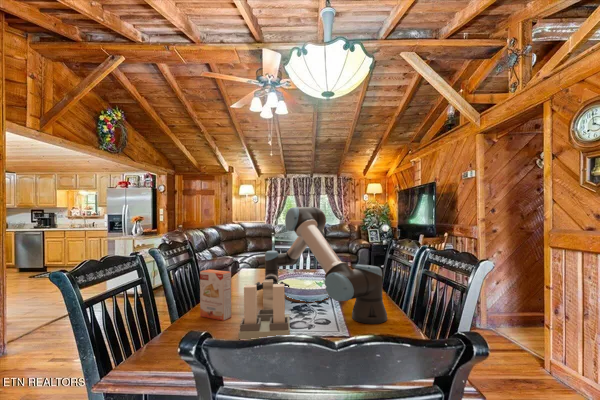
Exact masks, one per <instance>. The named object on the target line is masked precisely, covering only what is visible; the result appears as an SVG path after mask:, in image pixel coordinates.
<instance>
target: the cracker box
mask: <svg viewBox="0 0 600 400" xmlns="http://www.w3.org/2000/svg"><path fill="white" fill-rule="evenodd" d="M199 289H200V290H199V297H200V298H199V300H200V301H199V303H200V304H199V306H200V307H199V310H200V313H199V314H200V315H199V316H200V317H202V318H208V319H212V320H217V321H223V322H224V321H227V320H228V319H230V318H232V315H233V313H232V272H231V271H228V270H227V271H226V270H216V269H204V270H201V271H199Z"/></svg>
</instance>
